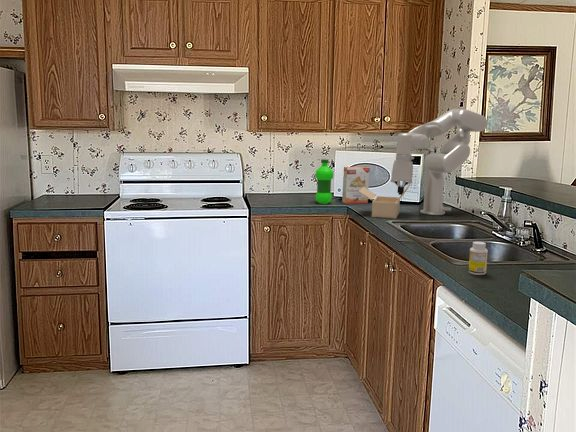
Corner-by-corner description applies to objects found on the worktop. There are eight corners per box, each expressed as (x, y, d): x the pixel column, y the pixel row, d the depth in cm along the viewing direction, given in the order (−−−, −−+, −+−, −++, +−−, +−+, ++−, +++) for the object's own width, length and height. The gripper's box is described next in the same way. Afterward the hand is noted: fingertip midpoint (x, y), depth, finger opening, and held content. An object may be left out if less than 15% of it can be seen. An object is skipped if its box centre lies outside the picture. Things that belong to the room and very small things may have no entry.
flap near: (400, 196, 306) (400, 196, 306) (397, 201, 289) (398, 201, 289) (409, 184, 304) (410, 184, 304) (407, 188, 286) (408, 188, 286)
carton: (399, 212, 309) (400, 197, 308) (395, 219, 289) (396, 202, 288) (376, 210, 312) (377, 196, 311) (371, 217, 292) (372, 201, 291)
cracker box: (345, 204, 333) (346, 167, 330) (341, 202, 339) (343, 166, 336) (368, 203, 337) (370, 167, 334) (364, 202, 343) (365, 166, 339)
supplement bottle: (474, 270, 195) (476, 240, 194) (489, 273, 191) (491, 243, 189) (464, 272, 192) (467, 242, 190) (479, 276, 188) (482, 245, 186)
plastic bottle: (311, 202, 338) (313, 158, 334) (329, 201, 341) (330, 158, 337) (317, 204, 329) (318, 160, 324) (335, 204, 332) (336, 160, 327)
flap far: (372, 199, 292) (371, 200, 292) (376, 194, 309) (375, 195, 309) (358, 191, 293) (358, 191, 293) (363, 186, 310) (363, 187, 311)
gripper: (419, 159, 295) (415, 195, 298) (389, 156, 299) (386, 192, 302) (418, 159, 288) (414, 196, 291) (387, 157, 292) (384, 194, 295)
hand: (400, 194), depth 296 cm, fingers closed
